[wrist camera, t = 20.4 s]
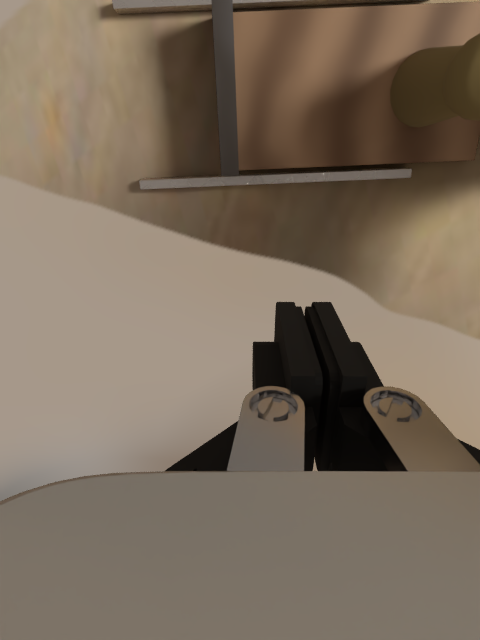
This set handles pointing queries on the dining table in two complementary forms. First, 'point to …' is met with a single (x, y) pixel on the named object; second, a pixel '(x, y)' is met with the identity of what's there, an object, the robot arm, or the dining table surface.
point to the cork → (438, 85)
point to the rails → (128, 3)
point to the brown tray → (330, 85)
